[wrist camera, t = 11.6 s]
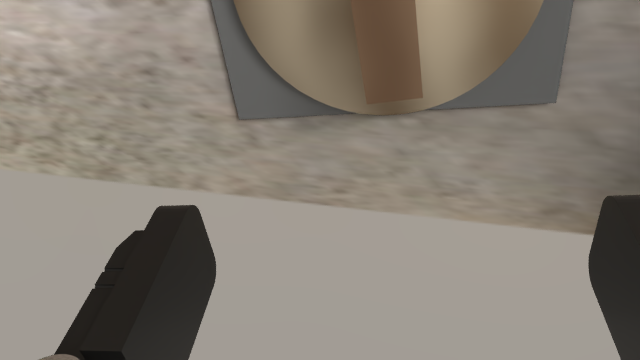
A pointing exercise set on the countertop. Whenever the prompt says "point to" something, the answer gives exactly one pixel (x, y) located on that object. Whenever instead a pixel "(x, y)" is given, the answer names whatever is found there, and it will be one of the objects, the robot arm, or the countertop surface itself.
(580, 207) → the countertop surface
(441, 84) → the lid
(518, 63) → the mat
